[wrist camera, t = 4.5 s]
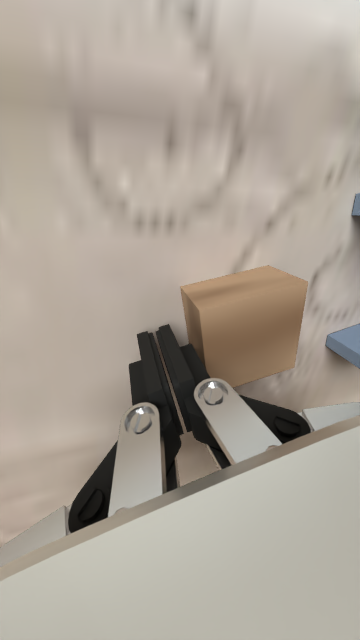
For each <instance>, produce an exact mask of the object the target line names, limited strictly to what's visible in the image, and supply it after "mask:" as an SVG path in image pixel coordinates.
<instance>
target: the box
mask: <svg viewBox="0 0 360 640" xmlns="http://www.w3.org/2000/svg"><path fill="white" fill-rule="evenodd" d="M352 215H360V193H358V194H356V198H355V203H354V208H353V213H352ZM326 346H327V347H328V348H330V349H331V350H333V351H334V352H336V353H337V354H339V355H340V356H342V357H343V358H345V359H346V360H348V361H349V362H351V363H352V364H354V365H355V366H357V367H358V368H359V369H360V324H358V325H355V326H352V327H349V328H346V329H343V330H341V331H338V332H335V333H332V334H329V335H328V337H327V342H326Z"/></svg>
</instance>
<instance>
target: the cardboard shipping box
mask: <svg viewBox="0 0 360 640" xmlns="http://www.w3.org/2000/svg"><path fill="white" fill-rule="evenodd" d="M307 286H308V282H307V281H305V280H303V279H300V278H298V277H295V276H293V275H290V274H288V273H286V272H283V271H281V270H278V269H276V268H273V267H271V266H269V265H268V266H263V267H259V268H255V269H251V270H247V271H243V272H239V273H234V274H230V275H226V276H222V277H218V278H214V279H210V280H206V281H201V282H197V283H193V284H189V285H185V286H181V287H180V288H181V294H182V300H183V307H184V313H185V320H186V326H187V333H188V339H189V344H192V345H193V347H194V349H195V351H196V353H197V354H198V356H199V358H200V360H201V362H202V363H203V365H204V367H205V369H206V371H207V372H208V374H209V376H210V378H218V379H222V380H224V381H226V382H227V383H228V384H229V385H230V386H231V387H232V388H234V387H237V386H240V385H243V384H246V383H249V382H252V381H255V380H258V379H261V378H264V377H267V376H270V375H273V374H276V373H279V372H282V371H285V370H288V369H291V368H294V366H295V360H296V353H297V347H298V341H299V335H300V329H301V323H302V317H303V311H304V305H305V299H306V292H307Z"/></svg>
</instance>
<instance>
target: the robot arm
mask: <svg viewBox="0 0 360 640" xmlns="http://www.w3.org/2000/svg"><path fill="white" fill-rule="evenodd" d="M156 335H157V338H158V341H159V344H160V348H161V351H162V354H163V357H164V361H165V364H166V367H167V370H168V373H169V377H170V380H171V383H172V386H173V389H174V392H175V395H176V398H177V401H178V404H179V407H180V411H181V414H182V417H183V420H184V423H185V426H186V429H187V432H190V431H192V432H193V435H194V438H196V440H198V441H200V442H202V443H205V444H206V446H207V449H208V450H209V452H210V454H211V456H212V458H213V459H214V461H215V463H216V465H217V466H218V468H219V471H217V472H215V473H212V474H210V475H207V476H205V477H203V478H200V479H198V480H196V481H193V482H191V483H188V484H186V485H184V486H181V487H180V483H179V474H178V464H177V458H176V455H177V453H178V451H179V449H180V447H181V440H180V437H179V435H182V434H184V433H183V430H182V426H181V423H180V420H179V416H178V413H177V410H176V407H175V403H174V400H173V397H172V394H171V390H170V387H169V384H168V381H167V377H166V374H165V371H164V368H163V365H162V361H161V358H160V355H159V352H158V349H157V346H156V343H155V340H154V336H153V333H149V334H148V332H147V331H146V332H143V333H140V334H137V338H138V344H139V349H140V355H141V360H140V361H137V362H134V363H131V364H129V373H130V383H131V394H132V404H133V406H132V407H131V408H129V409H128V410H127V411H126V412H125V414H124V415H123V417H122V419H121V423H120V429H119V436H118V441H117V442H116V443H115V445H114V446H113V448H112V449H111V450H110V452H109V453H108V454H107V456H106V457H105V458H104V460H103V461H102V462H101V464H100V465H99V466H98V468H97V469H96V470H95V472H94V473H93V474H92V476H91V477H90V478H89V480H88V481H87V483H86V484H85V485H84V487H83V488H82V489H81V491H80V492H79V493H78V495H77V496H76V498H75V500H74V501H73V503H72V504H71V505H69V506H68V507H65V506H62V507H61V508H59V509H58V510H56V511H55V512H53V513H52V514H50V515H49V516H47V517H46V518H44V519H43V520H41V521H40V522H38V523H37V524H35V525H33V526H32V527H30V528H29V529H27V530H26V531H24V532H23V533H21V534H20V535H18V536H17V537H15V538H14V539H12V540H11V541H9V542H8V543H6V544H5V545H3V546H2V547H0V640H360V402H351V403H344V404H337V405H330V406H323V407H316V408H309V409H302V412H301V413H296V412H294V411H291V410H289V409H285V408H282V407H278V406H275V405H271V404H268V403H265V402H261V401H258V400H254V399H251V398H247V397H244V396H241V395H238V394H237V393H236V392H235V390H234V389H233V388H232V387H231V386H230V385H229V384H228V383H227V382H226V381H224V380H222V379H218V378H210V376H209V374H208V372H207V371H206V369H205V367H204V365H203V363H202V362H201V360H200V358H199V356H198V354H197V353H196V351H195V349H194V347H193V345H192V344H188V345H185V346H182V347H179V345H178V343H177V341H176V339H175V337H174V334H173V332H172V330H171V328H170V326H169V324H168V325H165V326H162V327H159V331H156Z"/></svg>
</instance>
